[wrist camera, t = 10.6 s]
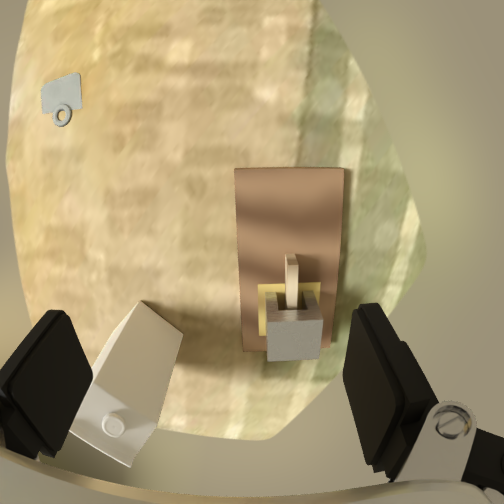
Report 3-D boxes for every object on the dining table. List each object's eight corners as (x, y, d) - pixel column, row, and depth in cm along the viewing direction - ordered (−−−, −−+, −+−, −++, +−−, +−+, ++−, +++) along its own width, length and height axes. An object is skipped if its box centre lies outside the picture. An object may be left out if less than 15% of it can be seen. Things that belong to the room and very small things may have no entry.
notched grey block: (265, 292, 35) (267, 322, 30) (313, 290, 35) (323, 319, 30) (265, 328, 37) (267, 361, 32) (310, 326, 37) (318, 358, 32)
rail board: (234, 168, 32) (232, 173, 28) (340, 167, 32) (352, 173, 28) (243, 345, 40) (242, 367, 36) (328, 341, 40) (334, 362, 36)
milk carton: (154, 361, 41) (115, 474, 23) (113, 330, 39) (54, 437, 21) (184, 333, 39) (149, 458, 21) (140, 299, 37) (76, 414, 20)
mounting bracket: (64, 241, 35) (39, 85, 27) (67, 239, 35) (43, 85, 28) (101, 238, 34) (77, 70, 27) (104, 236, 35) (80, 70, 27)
